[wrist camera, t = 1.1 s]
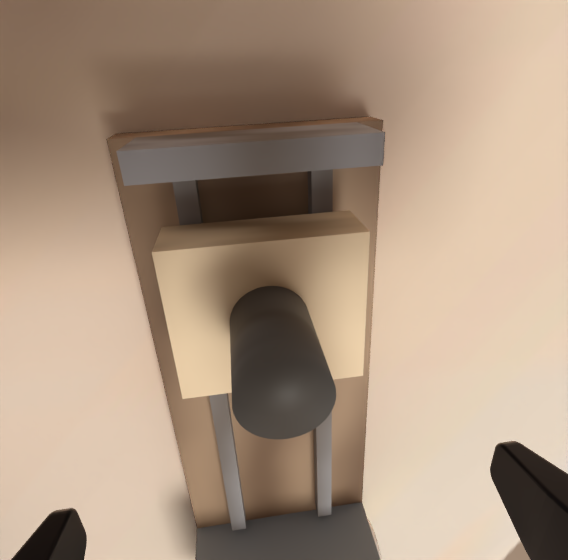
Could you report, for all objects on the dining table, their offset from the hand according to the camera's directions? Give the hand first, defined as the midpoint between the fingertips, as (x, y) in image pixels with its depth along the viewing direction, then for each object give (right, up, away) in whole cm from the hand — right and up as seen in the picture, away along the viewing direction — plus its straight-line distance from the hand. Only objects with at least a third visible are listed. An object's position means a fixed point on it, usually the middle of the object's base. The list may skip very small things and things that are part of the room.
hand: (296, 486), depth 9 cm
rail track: (-1, +1, +12) cm, 13 cm away
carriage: (-1, +4, +8) cm, 9 cm away
